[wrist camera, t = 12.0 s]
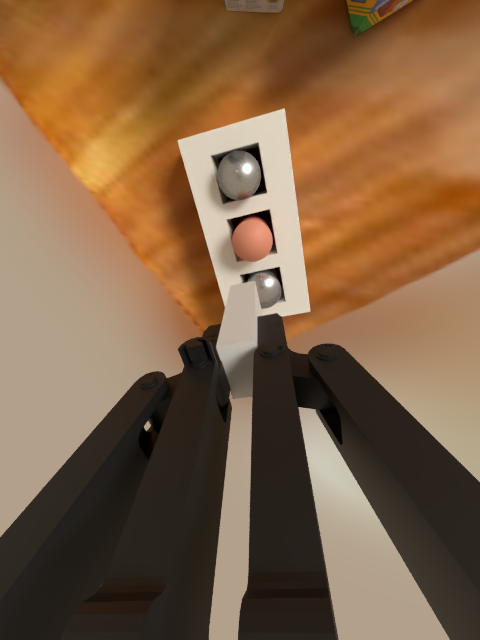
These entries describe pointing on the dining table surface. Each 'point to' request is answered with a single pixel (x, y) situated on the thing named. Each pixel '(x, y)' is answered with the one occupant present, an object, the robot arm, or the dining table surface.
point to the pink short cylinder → (252, 239)
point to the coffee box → (255, 5)
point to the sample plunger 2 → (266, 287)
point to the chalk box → (371, 12)
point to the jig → (250, 205)
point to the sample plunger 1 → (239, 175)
